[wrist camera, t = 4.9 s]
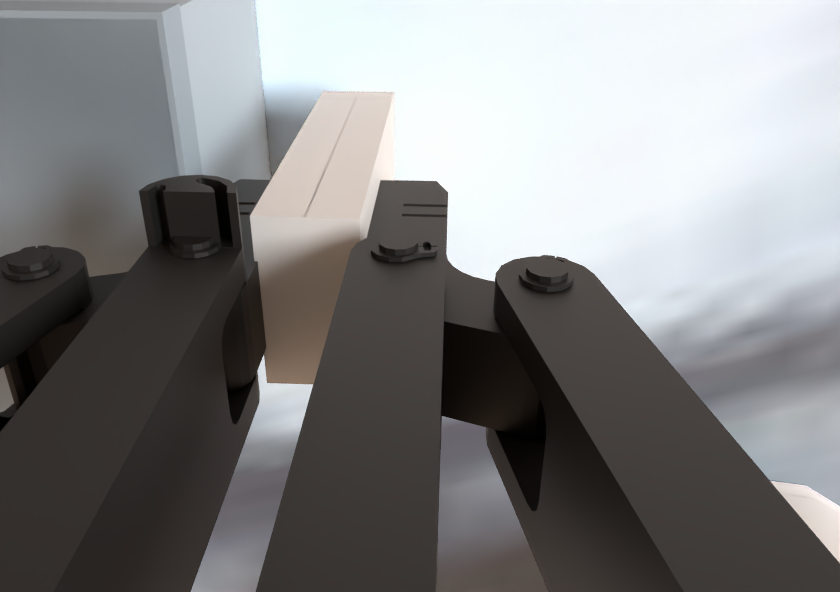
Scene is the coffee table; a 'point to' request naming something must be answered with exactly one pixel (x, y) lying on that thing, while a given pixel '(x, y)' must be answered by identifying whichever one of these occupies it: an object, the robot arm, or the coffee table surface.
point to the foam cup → (815, 513)
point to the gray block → (119, 117)
